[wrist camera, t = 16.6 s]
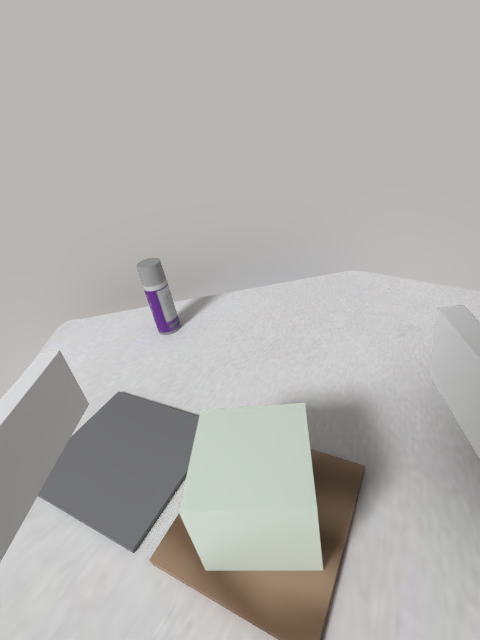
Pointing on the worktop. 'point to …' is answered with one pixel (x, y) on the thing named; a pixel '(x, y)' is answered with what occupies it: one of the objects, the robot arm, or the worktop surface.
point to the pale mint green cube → (252, 490)
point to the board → (278, 586)
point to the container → (158, 295)
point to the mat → (123, 467)
